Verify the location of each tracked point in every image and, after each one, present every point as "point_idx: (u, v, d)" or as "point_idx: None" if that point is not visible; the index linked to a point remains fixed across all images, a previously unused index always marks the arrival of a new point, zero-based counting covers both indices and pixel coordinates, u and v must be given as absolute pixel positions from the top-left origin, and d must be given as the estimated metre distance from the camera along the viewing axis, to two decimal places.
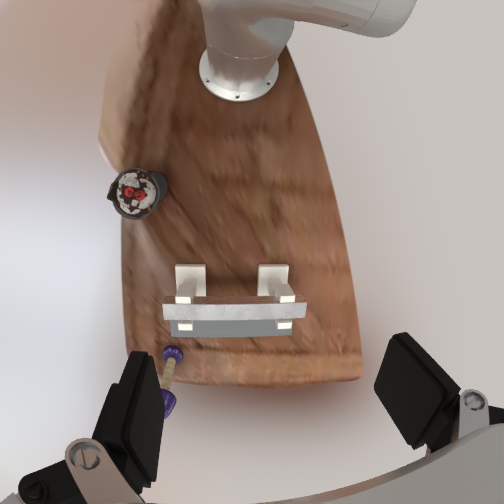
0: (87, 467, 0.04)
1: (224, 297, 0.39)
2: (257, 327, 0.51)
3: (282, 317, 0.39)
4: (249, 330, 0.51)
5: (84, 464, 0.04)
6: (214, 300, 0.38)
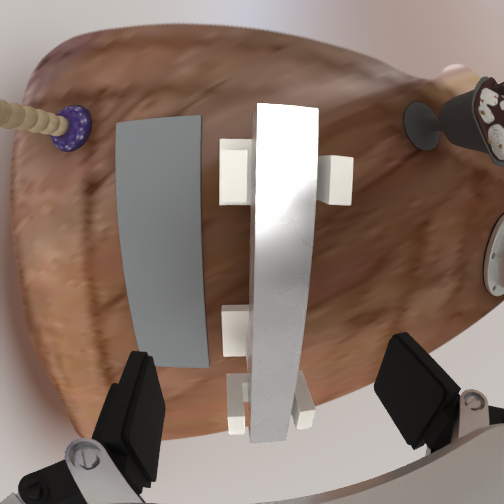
0: (87, 467, 0.04)
1: None
2: (151, 310, 0.23)
3: (254, 416, 0.15)
4: (142, 295, 0.23)
5: (84, 464, 0.04)
6: None
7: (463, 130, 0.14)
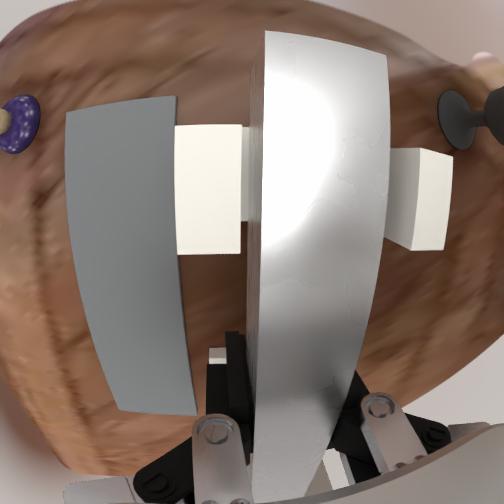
0: (211, 441, 0.06)
1: None
2: (121, 353, 0.17)
3: None
4: (108, 336, 0.17)
5: (210, 438, 0.06)
6: None
7: None
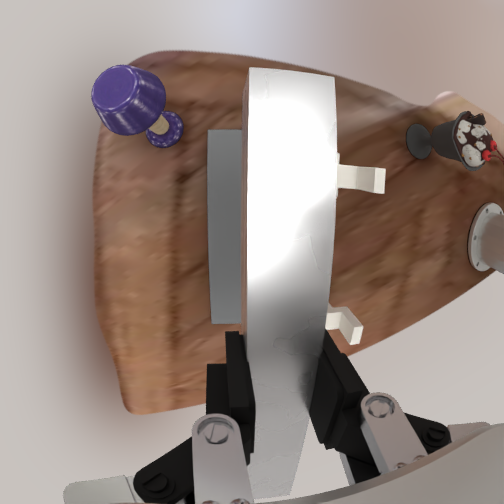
0: (211, 441, 0.06)
1: None
2: (227, 274, 0.32)
3: (251, 476, 0.10)
4: (221, 262, 0.32)
5: (210, 438, 0.06)
6: None
7: (446, 147, 0.23)
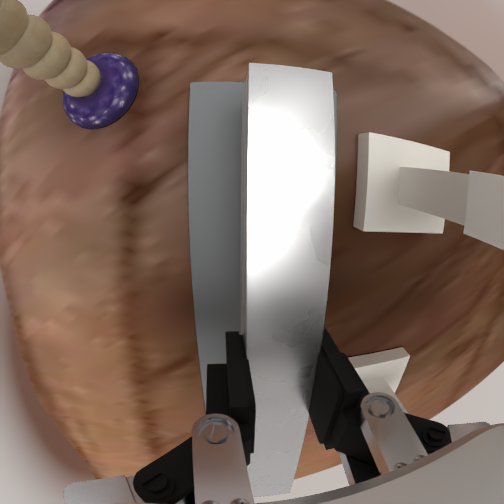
0: (211, 441, 0.06)
1: None
2: None
3: (251, 473, 0.10)
4: (224, 361, 0.15)
5: (210, 438, 0.06)
6: None
7: None
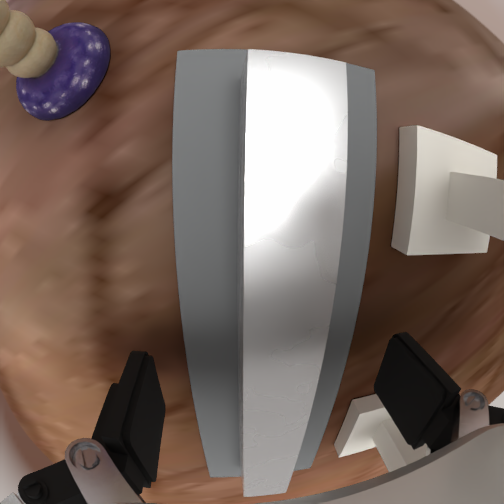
0: (87, 467, 0.04)
1: None
2: None
3: (247, 476, 0.10)
4: (226, 410, 0.12)
5: (84, 464, 0.04)
6: None
7: None
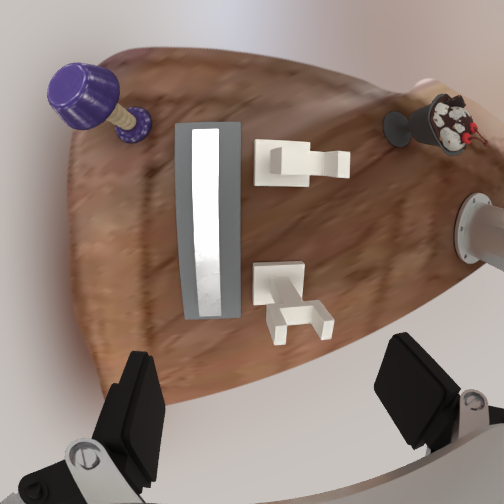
0: (87, 467, 0.04)
1: None
2: None
3: (199, 290, 0.29)
4: (191, 256, 0.31)
5: (84, 464, 0.04)
6: None
7: (423, 132, 0.23)
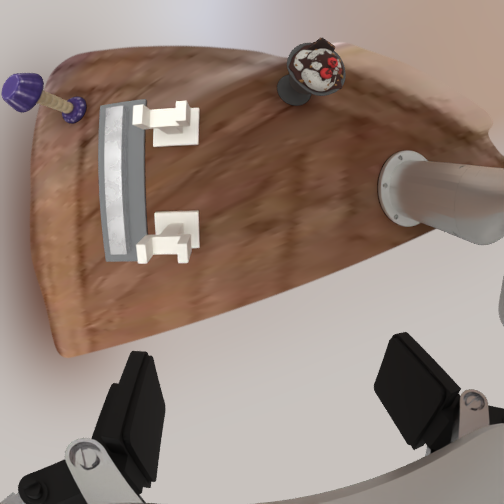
0: (87, 467, 0.04)
1: (126, 168, 0.33)
2: None
3: (109, 230, 0.34)
4: None
5: (84, 464, 0.04)
6: (124, 158, 0.32)
7: (294, 81, 0.26)
